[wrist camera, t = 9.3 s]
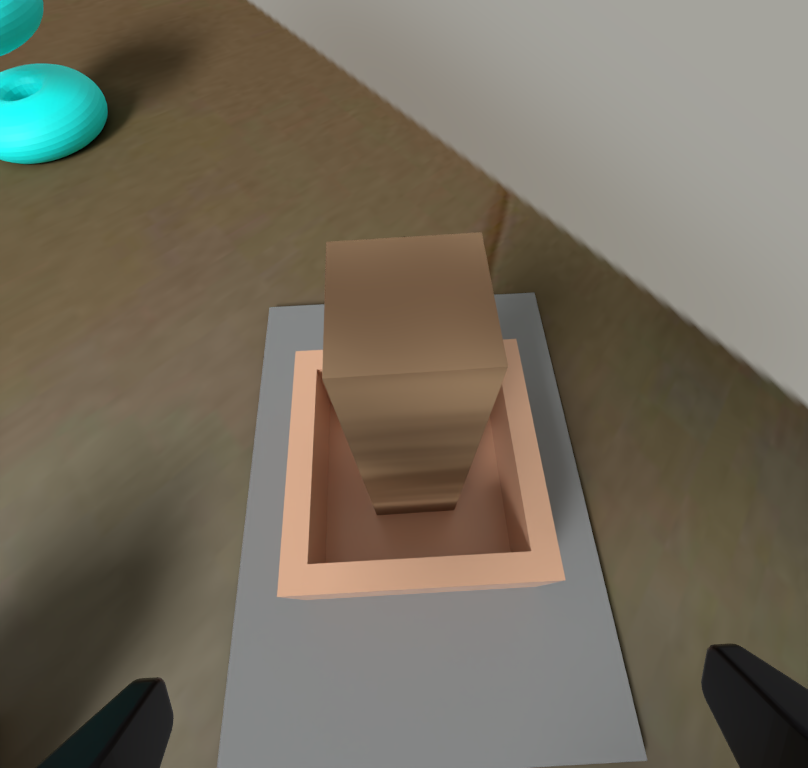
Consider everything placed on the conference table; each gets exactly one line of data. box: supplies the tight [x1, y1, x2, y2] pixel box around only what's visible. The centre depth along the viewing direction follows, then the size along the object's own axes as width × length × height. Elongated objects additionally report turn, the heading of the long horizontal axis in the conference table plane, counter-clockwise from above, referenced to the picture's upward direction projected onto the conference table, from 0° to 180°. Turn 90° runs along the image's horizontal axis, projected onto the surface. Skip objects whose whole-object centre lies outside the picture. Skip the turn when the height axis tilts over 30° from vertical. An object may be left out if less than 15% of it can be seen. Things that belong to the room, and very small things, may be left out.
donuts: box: [0, 0, 108, 164], centre depth 31 cm, size 10×10×10 cm
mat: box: [217, 293, 647, 768], centre depth 21 cm, size 22×16×1 cm
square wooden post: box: [322, 232, 508, 515], centre depth 15 cm, size 4×4×13 cm
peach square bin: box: [277, 339, 565, 600], centre depth 19 cm, size 10×10×4 cm
